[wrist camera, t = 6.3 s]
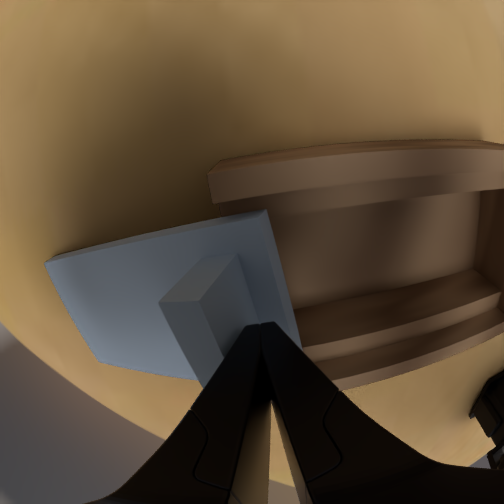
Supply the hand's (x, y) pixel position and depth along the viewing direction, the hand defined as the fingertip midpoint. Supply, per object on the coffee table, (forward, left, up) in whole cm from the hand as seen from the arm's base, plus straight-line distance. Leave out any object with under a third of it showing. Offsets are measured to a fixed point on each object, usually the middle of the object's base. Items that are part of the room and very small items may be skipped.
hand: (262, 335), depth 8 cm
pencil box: (-6, 0, -6) cm, 8 cm away
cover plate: (+5, +1, -4) cm, 6 cm away
